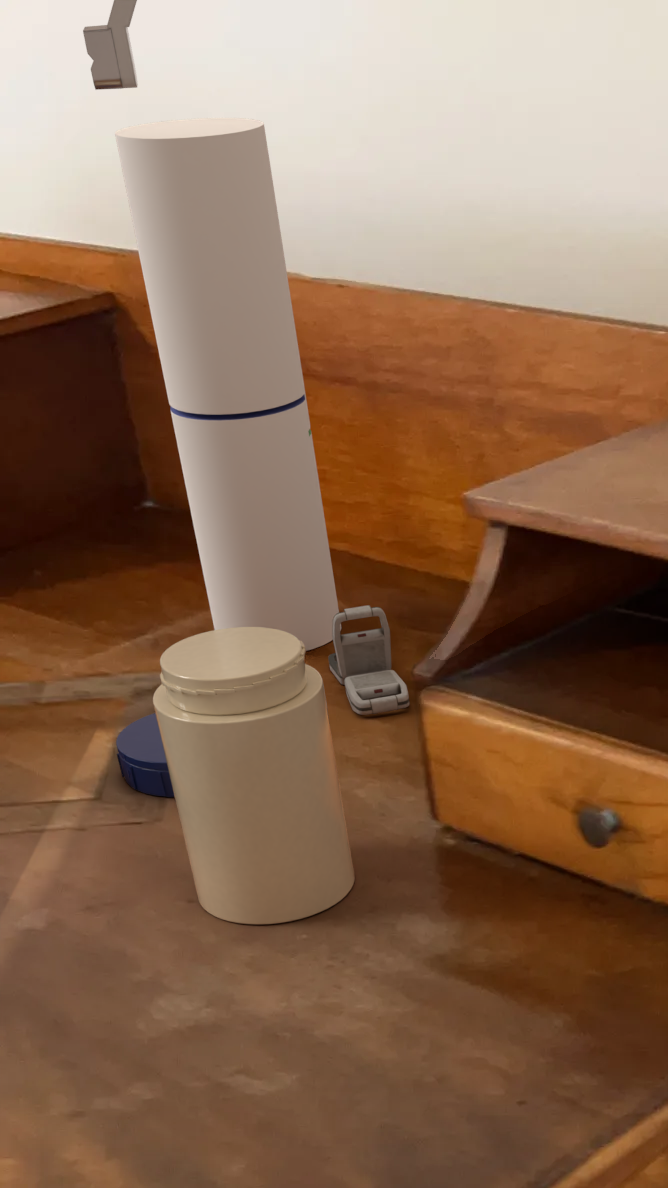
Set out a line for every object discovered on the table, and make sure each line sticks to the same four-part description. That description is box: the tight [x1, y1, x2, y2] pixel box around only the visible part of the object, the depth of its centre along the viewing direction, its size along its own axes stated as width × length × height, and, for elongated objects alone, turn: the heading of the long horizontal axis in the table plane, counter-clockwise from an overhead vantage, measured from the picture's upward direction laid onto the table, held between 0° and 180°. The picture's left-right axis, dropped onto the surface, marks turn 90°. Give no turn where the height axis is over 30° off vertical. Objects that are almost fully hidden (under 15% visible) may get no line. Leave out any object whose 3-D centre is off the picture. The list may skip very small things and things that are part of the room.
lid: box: [115, 712, 175, 798], centre depth 84 cm, size 7×7×2 cm
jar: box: [152, 627, 356, 926], centre depth 71 cm, size 7×7×10 cm
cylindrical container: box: [114, 117, 342, 652], centre depth 91 cm, size 7×7×25 cm
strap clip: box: [327, 604, 410, 716], centre depth 91 cm, size 8×3×4 cm, turn 20°
